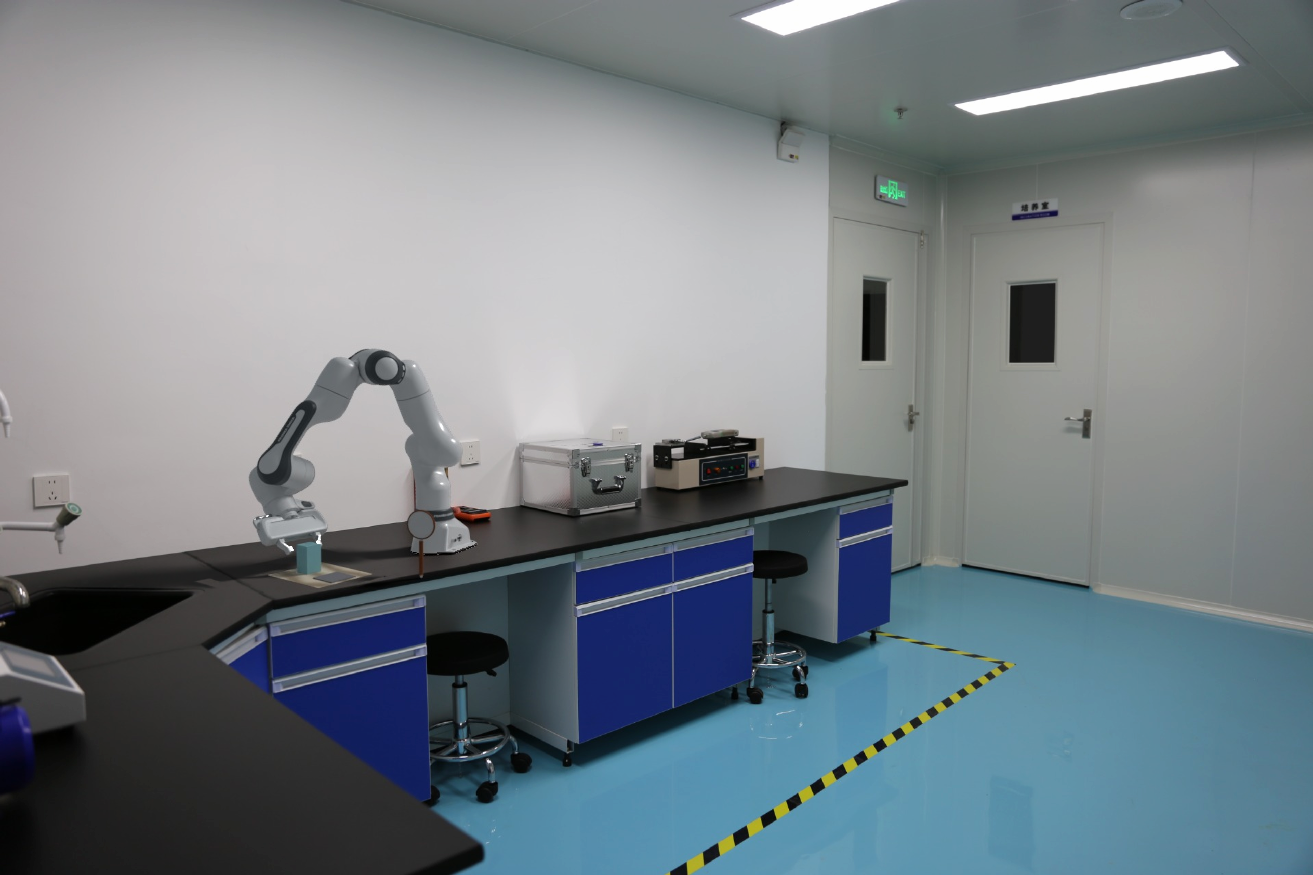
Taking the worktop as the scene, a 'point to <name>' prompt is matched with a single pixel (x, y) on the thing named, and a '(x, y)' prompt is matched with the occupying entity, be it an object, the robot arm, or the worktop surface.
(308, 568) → the teal pillar
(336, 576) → the pad
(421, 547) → the magnifying glass
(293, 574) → the post board
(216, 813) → the worktop surface
